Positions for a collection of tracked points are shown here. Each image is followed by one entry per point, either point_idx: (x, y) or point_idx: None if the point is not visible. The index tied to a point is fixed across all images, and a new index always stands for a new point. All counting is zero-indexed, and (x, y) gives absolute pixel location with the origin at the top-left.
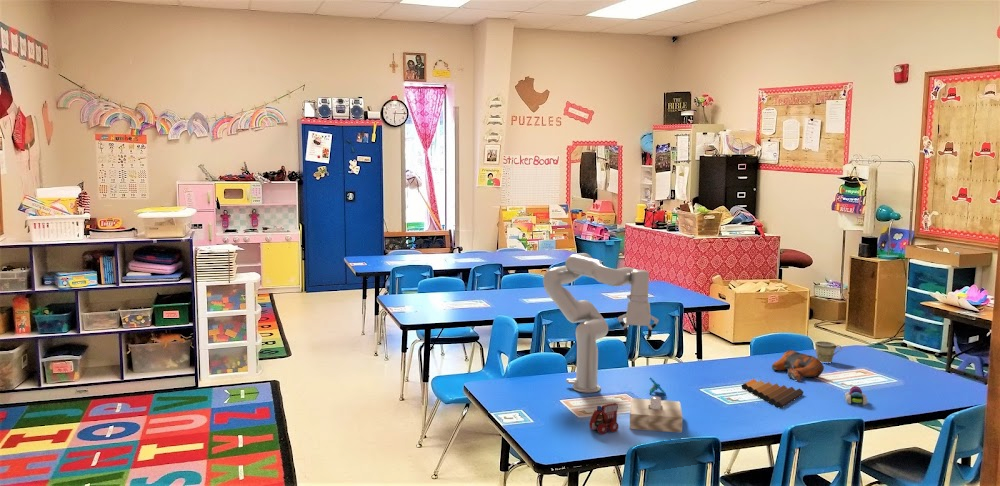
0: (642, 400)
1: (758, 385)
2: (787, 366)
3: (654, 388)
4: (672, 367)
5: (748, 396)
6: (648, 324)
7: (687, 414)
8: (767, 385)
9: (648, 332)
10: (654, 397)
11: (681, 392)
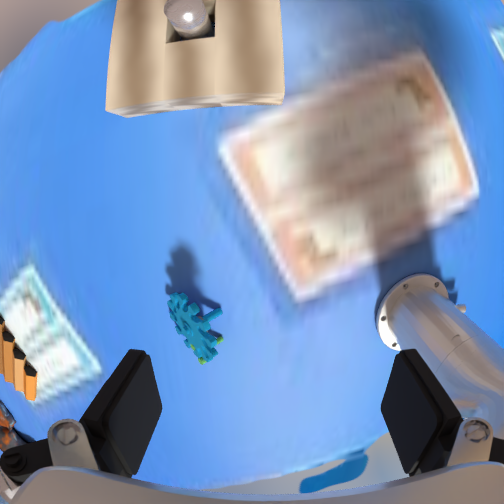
0: (237, 75)
1: (13, 370)
2: (23, 444)
3: (202, 318)
4: (187, 479)
5: (15, 324)
6: (40, 469)
7: (105, 138)
8: (3, 368)
9: (115, 399)
10: (187, 6)
11: (134, 339)
